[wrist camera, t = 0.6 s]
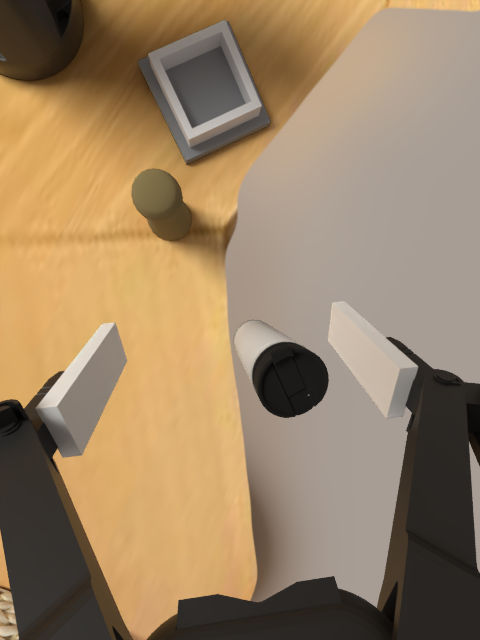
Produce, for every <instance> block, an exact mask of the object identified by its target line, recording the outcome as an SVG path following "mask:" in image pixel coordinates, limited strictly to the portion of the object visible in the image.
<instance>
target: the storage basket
mask: <svg viewBox="0 0 480 640" xmlns="http://www.w3.org/2000/svg"><path fill="white" fill-rule="evenodd" d="M0 640H19V636H18V629H17V624H16V618H15V612H14V606H13V600H12V594H11V592H10V591H8V590H5V589H2V588H0Z"/></svg>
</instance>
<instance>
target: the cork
mask: <svg viewBox="0 0 480 640" xmlns="http://www.w3.org/2000/svg"><path fill="white" fill-rule="evenodd" d="M132 199H133V203H134V205H135V207H136V208H137V210H138V211H139V212H140V213H141V214H142V215H143V216H144V217H145V218H147V220H148V223H149V226H150V228H151V229H152V231H153V233H155V234H156V235H157V236H158V237H160V238H162V239H164V240H169V241H174V240H178V239H180V238H182V237H184V236H185V235H186V234H187V232H188V231H189V229H190V226H191V214H190V211H189V209H188V207H187V206H186V204H185V203H184V202H183V197H182V192H181V188H180V186H179V184H178V182H177V180H176V179H174V178H173V177H172V176H171V175H170V174H169V173H167V172H165V171H163V170H160V169H148V170H145V171H143V172H142V173H140V174H139V175H138V176H137V177H136V178H135V180H134V183H133V185H132Z"/></svg>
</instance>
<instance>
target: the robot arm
mask: <svg viewBox="0 0 480 640" xmlns="http://www.w3.org/2000/svg"><path fill="white" fill-rule="evenodd" d="M82 34H83V12H82V7H81V3H80V0H0V74H2V75H5V76H8V77H11V78H15V79H21V80H36V79H42V78H46V77H49V76H52V75H54V74H56V73H57V72H59V71H61V70H62V69H63V68H64V67H66V66H67V65H68V64H69V63H70V61H71V60H72V59H73V57H74V56H75V54H76V52H77V50H78V48H79V46H80V43H81V39H82ZM328 341H329V342H330V344H331V345H332V346H333V348H334V349H335V350H336V352H337V353H338V354H339V356H340V357H341V359H342V360H343V361H344V362H345V364H346V365H347V367H348V368H349V369H350V371H351V372H352V373H353V375H354V376H355V377H356V378H357V380H358V381H359V383H360V384H361V385H362V387H363V388H364V389H365V391H366V392H367V393H368V395H369V396H370V397H371V399H372V400H373V401H374V403H375V404H376V405H377V407H378V408H379V409H380V411H381V412H382V413H383V415H384V416H385V417H386V418H394V417H403V414H404V411H405V408H406V406H407V408H408V409H409V410H410V411H411V412H412V415H411V418H410V421H409V424H408V427H407V430H406V431H407V432H408V435H407V441H406V447H405V454H404V460H403V466H402V473H401V478H400V485H399V491H398V496H397V502H396V509H395V514H394V521H393V527H392V533H391V539H390V545H389V551H388V557H387V563H386V569H385V575H384V580H383V584H382V588H381V592H380V596H379V601H378V605H377V608H376V607H375V606H373V605H372V604H370V603H369V602H367V601H366V600H365V599H362V598H361V597H359V596H357V595H355V594H353V593H350V592H348V591H345V590H342V589H338V587H337V584H336V581H335V578H334V576H332V577H326V578H319V579H313V580H307V581H300V582H296V583H294V584H293V585H291V586H289V587H287V588H285V589H284V590H282V591H280V592H278V593H277V594H275V595H273V596H271V597H269V598H268V599H266V600H264V601H262V602H252V601H247V600H242V599H238V598H233V597H228V596H224V595H219V594H216V595H210V596H203V597H197V598H190V599H184V600H179V602H178V614H176V615H174V616H172V617H171V618H169V619H168V620H167V621H165V622H164V623H163V624H161V625H160V626H159V627H158V628H157V629H156V630H155V631H154V632H153V633H152V634H151V635H150V636H149V637H148V639H147V640H480V573H479V571H478V569H477V563H476V548H475V532H474V517H473V501H472V486H471V471H470V454H469V442H470V444H471V447H472V449H473V452H474V454H475V456H476V459H477V461H478V463H479V466H480V384H476V383H466V382H463V381H462V379H460V378H459V377H458V376H456V375H454V374H453V373H450V372H447V371H444V370H439V369H433V368H431V367H430V366H429V365H428V364H427V363H425V362H424V361H423V360H422V359H421V358H419V357H418V356H417V355H416V354H414V353H413V352H412V351H411V350H410V349H408V348H407V347H406V346H405V345H404V344H403V343H401V342H400V341H398V340H395V339H394V338H391V337H386V338H385V337H384V336H383V335H382V334H381V333H380V332H379V331H377V330H376V329H375V328H374V327H373V326H372V325H371V324H369V323H368V322H367V321H366V320H365V319H364V318H363V317H362V316H360V315H359V314H358V313H357V312H356V311H355V310H354V309H352V308H351V307H350V306H349V305H348V304H347V303H346V302H344V301H342V302H333V303H332V309H331V318H330V327H329V335H328ZM126 362H127V358H126V355H125V352H124V349H123V346H122V342H121V339H120V336H119V333H118V329H117V326H116V323H105V324H102V325H101V326H100V327H99V328H98V330H97V331H96V332H95V333H94V335H93V336H92V337H91V338H90V340H89V341H88V342H87V344H86V345H85V346H84V347H83V349H82V350H81V351H80V352H79V354H78V355H77V356H76V358H75V359H74V360H73V361H72V363H71V364H70V365H69V366H68V368H67V369H66V370H65V371H60V372H58V373H57V374H55V375H54V376H52V377H51V378H50V379H49V380H48V381H47V382H46V383H45V384H44V386H43V388H41V389H40V390H39V392H38V393H37V395H35V396H34V398H33V399H32V400H31V401H30V402H29V404H28V405H27V406H26V407H25V408H24V409H23V407H22V405H21V404H20V402H19V401H18V400H13V399H11V400H5V401H2V402H0V530H1V536H2V542H3V548H4V554H5V560H6V565H7V571H8V577H9V583H10V589H11V594H12V600H13V606H14V612H15V618H16V624H17V629H18V636H19V640H133V639H132V637H131V635H130V633H129V631H128V629H127V627H126V625H125V623H124V621H123V619H122V617H121V615H120V612H119V610H118V608H117V605H116V603H115V601H114V598H113V596H112V594H111V591H110V589H109V587H108V584H107V582H106V580H105V577H104V575H103V573H102V570H101V568H100V566H99V563H98V561H97V559H96V556H95V554H94V552H93V549H92V547H91V545H90V542H89V540H88V538H87V535H86V533H85V531H84V528H83V526H82V524H81V521H80V519H79V516H78V514H77V512H76V509H75V507H74V505H73V502H72V500H71V498H70V495H69V493H68V491H67V488H66V486H65V484H64V481H63V479H62V477H61V474H60V472H59V470H58V467H57V465H56V463H55V461H54V459H53V455H54V453H55V452H56V450H57V448H58V450H59V452H60V453H61V455H62V457H71V456H80V455H82V454H83V452H84V450H85V448H86V446H87V444H88V442H89V439H90V437H91V435H92V433H93V431H94V429H95V427H96V425H97V423H98V421H99V419H100V416H101V414H102V412H103V410H104V408H105V406H106V404H107V402H108V400H109V398H110V396H111V394H112V391H113V389H114V387H115V385H116V383H117V381H118V379H119V377H120V375H121V373H122V371H123V368H124V366H125V364H126Z"/></svg>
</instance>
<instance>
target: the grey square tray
mask: <svg viewBox="0 0 480 640" xmlns="http://www.w3.org/2000/svg"><path fill="white" fill-rule="evenodd" d="M138 64H139V68H140V70H141V72H142V74H143V76H144V78H145V80H146V82H147V84H148V86H149V88H150V90H151V92H152V94H153V96H154V99H155V101H156V103H157V105H158V107H159V109H160V111H161V113H162V115H163V117H164V119H165V121H166V123H167V125H168V127H169V129H170V131H171V134H172V136H173V138H174V140H175V142H176V144H177V146H178V148H179V150H180V152H181V154H182V156H183V158H184V160H185V162H186V164H188V163H190V162H192V161H195V160H197V159H199V158H201V157H203V156H205V155H207V154H210V153H212V152H214V151H216V150H218V149H220V148H222V147H224V146H227V145H229V144H231V143H233V142H235V141H237V140H239V139H241V138H244V137H246V136H248V135H250V134H252V133H254V132H256V131H259V130H261V129H263V128H265V127H267V126H269V124H270V122H271V121H270V118H269V116H268V114H267V111H266V109H265V107H264V104H263V102H262V99H261V97H260V95H259V92H258V90H257V88H256V85H255V83H254V80H253V78H252V76H251V73H250V71H249V69H248V66H247V64H246V62H245V59H244V57H243V54H242V52H241V50H240V47H239V45H238V43H237V40H236V38H235V35H234V33H233V31H232V28H231V26H230V24H229V21H227V22H226V20H223V21H221V22H218V23H216V24H214V25H212V26H209V27H207V28H205V29H203V30H200V31H198V32H196V33H193V34H191V35H189V36H187V37H184V38H182V39H180V40H178V41H175V42H173V43H171V44H168V45H166V46H164V47H162V48H159V49H157V50H155V51H153V52H150V53H148V57H145V58H143V59H141V60H139V61H138Z"/></svg>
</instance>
